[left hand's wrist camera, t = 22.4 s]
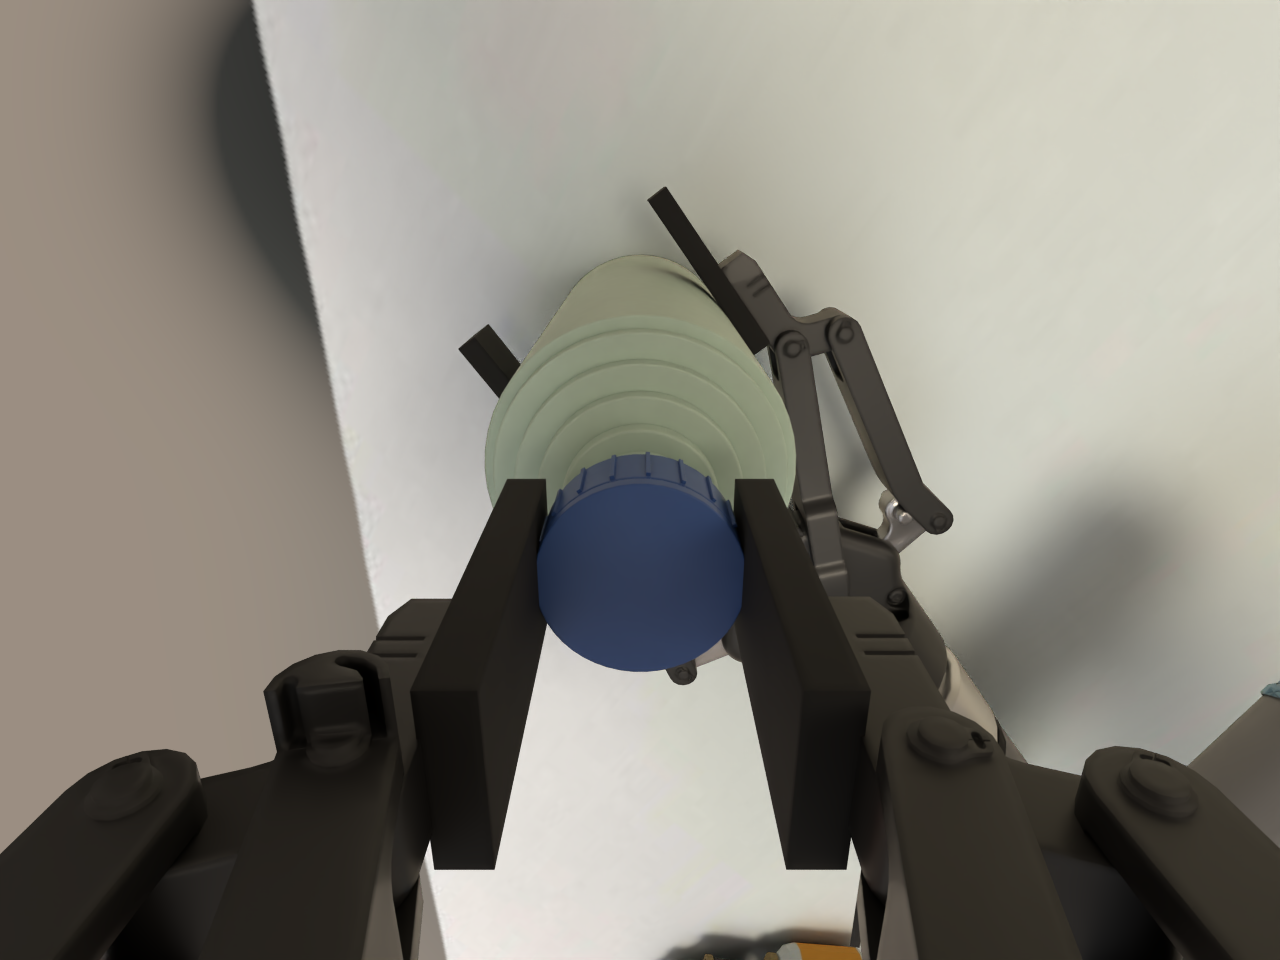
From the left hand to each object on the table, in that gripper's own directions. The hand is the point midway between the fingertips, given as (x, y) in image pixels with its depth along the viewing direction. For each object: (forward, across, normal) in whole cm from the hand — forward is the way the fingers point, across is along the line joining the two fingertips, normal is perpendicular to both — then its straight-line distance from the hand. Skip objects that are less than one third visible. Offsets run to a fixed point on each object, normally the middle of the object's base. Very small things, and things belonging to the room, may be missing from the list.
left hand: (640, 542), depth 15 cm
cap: (-1, 0, 0) cm, 1 cm away
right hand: (+15, -3, +4) cm, 15 cm away
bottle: (+21, 0, 0) cm, 21 cm away
